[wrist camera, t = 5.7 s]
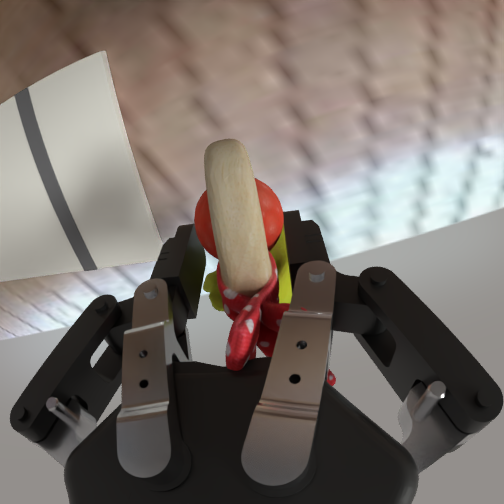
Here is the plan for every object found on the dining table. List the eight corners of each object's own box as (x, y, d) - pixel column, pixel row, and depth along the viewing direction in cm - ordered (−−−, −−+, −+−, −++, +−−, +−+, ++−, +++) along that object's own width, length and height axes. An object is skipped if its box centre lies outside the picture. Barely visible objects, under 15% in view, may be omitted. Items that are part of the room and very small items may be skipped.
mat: (-64, 156, 19) (-69, 159, 18) (105, 50, 16) (100, 51, 16) (-6, 279, 29) (-9, 283, 28) (166, 254, 27) (164, 260, 26)
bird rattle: (179, 167, 17) (217, 312, 19) (47, 165, 6) (154, 447, 8) (287, 141, 16) (318, 295, 18) (297, 81, 5) (352, 433, 7)
